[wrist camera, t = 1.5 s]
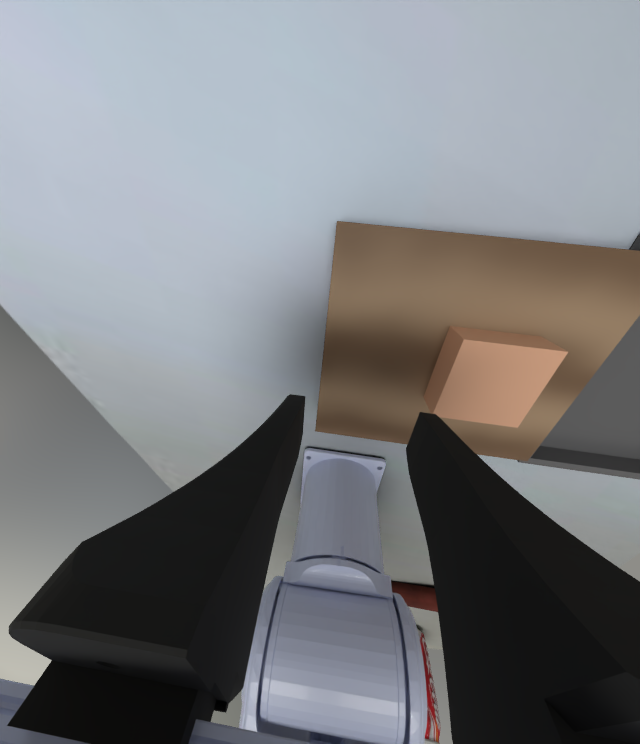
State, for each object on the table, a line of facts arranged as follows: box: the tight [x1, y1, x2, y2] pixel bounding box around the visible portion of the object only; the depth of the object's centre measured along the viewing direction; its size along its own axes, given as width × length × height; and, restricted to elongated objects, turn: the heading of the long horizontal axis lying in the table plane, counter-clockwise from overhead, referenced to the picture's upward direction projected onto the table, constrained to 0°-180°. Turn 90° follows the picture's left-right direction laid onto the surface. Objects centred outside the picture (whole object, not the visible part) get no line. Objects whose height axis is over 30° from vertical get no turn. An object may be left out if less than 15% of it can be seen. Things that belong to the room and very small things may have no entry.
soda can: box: [417, 628, 441, 744], centre depth 40 cm, size 7×7×12 cm
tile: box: [424, 326, 568, 428], centre depth 14 cm, size 5×5×2 cm
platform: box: [315, 221, 640, 461], centre depth 16 cm, size 14×16×3 cm
